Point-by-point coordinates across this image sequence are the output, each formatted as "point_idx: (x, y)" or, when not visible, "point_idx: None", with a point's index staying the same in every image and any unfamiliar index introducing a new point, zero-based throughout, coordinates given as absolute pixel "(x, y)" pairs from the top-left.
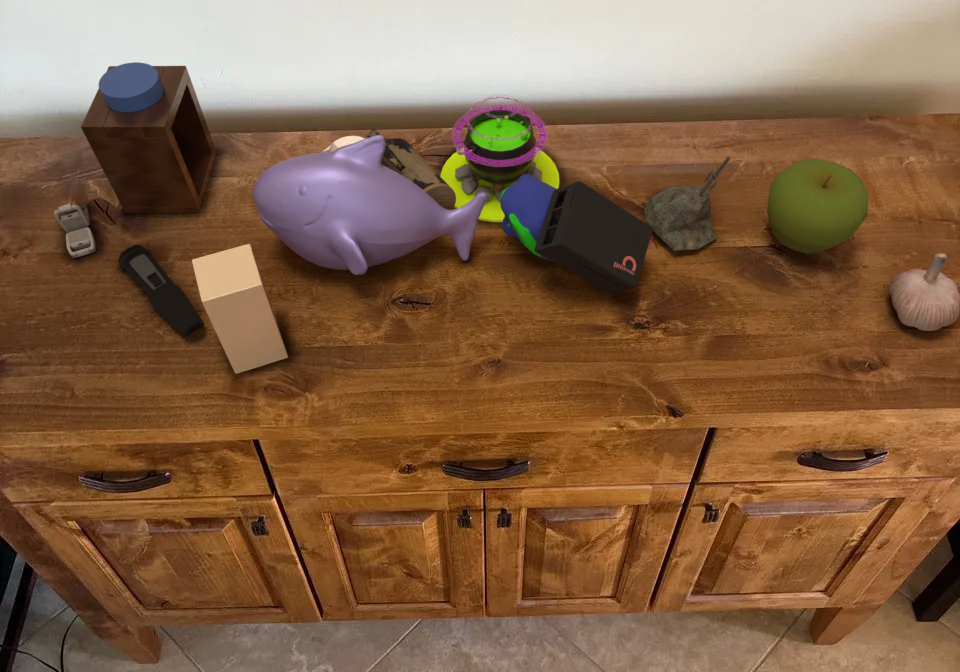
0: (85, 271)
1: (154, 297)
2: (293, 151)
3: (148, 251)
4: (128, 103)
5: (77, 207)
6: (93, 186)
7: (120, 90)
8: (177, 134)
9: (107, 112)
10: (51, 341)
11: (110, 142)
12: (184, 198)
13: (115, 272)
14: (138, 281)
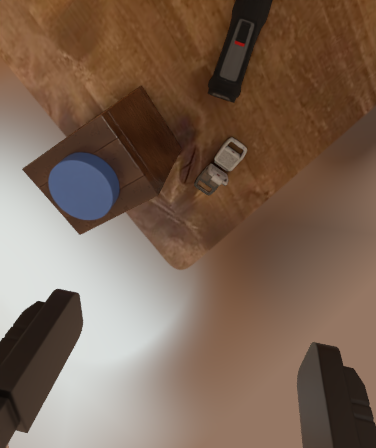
0: (253, 127)
1: (261, 17)
2: (23, 60)
3: (213, 77)
4: (104, 169)
5: (210, 171)
6: (173, 195)
7: (97, 186)
8: None
9: (125, 187)
10: (338, 89)
11: (149, 166)
12: (141, 97)
13: (241, 101)
14: (250, 52)
